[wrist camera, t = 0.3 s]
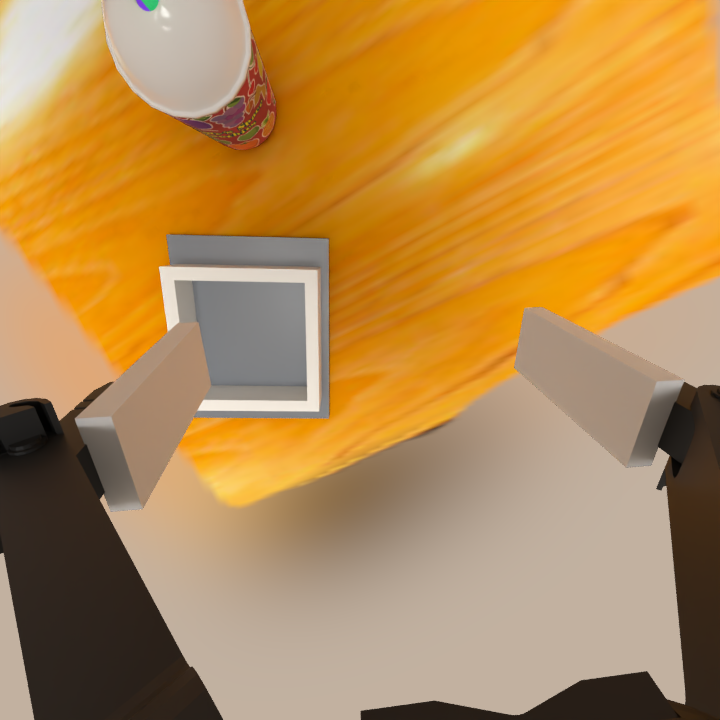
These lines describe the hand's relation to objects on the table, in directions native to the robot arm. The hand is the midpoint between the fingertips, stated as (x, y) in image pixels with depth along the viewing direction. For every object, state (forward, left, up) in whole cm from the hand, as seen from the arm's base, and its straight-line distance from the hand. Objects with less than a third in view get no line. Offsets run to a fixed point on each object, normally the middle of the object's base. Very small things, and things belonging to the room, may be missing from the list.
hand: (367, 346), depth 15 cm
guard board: (+6, -11, -26) cm, 29 cm away
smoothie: (-15, -11, -26) cm, 32 cm away
